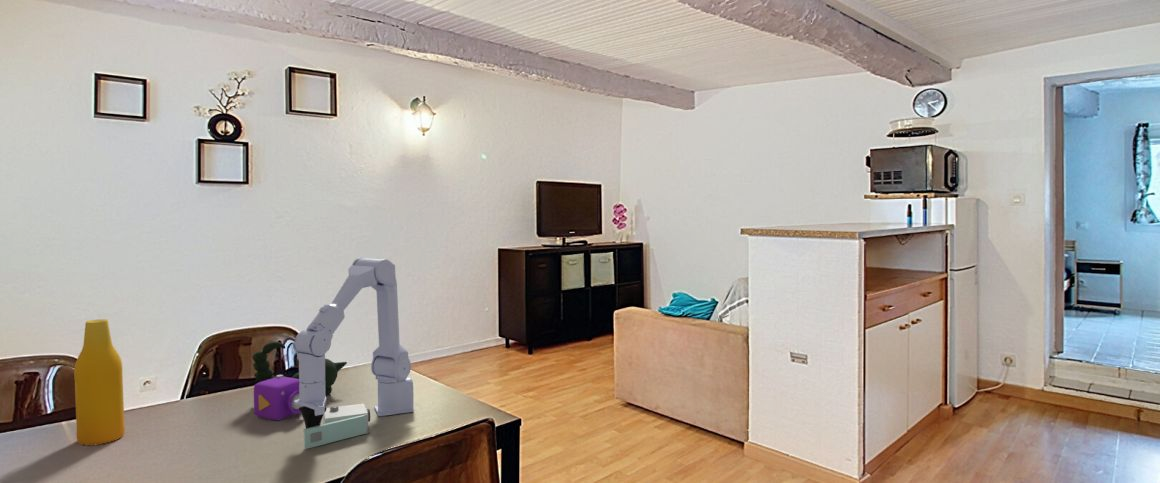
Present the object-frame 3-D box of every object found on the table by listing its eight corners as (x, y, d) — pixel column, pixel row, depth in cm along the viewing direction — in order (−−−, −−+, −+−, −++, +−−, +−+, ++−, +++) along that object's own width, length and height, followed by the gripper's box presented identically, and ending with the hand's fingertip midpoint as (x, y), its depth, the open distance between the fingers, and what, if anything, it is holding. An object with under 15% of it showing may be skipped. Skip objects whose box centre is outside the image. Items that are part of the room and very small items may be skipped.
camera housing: (368, 421, 163) (367, 399, 163) (372, 431, 156) (372, 409, 156) (323, 427, 159) (322, 405, 158) (325, 438, 151) (325, 415, 151)
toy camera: (293, 424, 160) (292, 387, 160) (247, 420, 163) (246, 383, 162) (318, 411, 171) (318, 375, 170) (275, 407, 174) (274, 372, 173)
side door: (367, 432, 155) (367, 413, 155) (369, 433, 155) (369, 414, 154) (304, 448, 145) (303, 428, 145) (305, 449, 144) (305, 429, 144)
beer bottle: (84, 434, 152) (79, 318, 150) (129, 429, 155) (125, 316, 153) (70, 448, 143) (65, 325, 141) (119, 443, 147) (114, 323, 145)
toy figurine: (261, 415, 172) (353, 392, 185) (252, 349, 169) (346, 331, 183) (257, 405, 179) (346, 384, 193) (249, 342, 177) (339, 326, 191)
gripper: (287, 375, 150) (288, 430, 151) (301, 390, 138) (301, 449, 139) (318, 371, 154) (318, 424, 155) (333, 385, 142) (334, 443, 143)
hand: (312, 436), depth 147 cm, fingers closed
